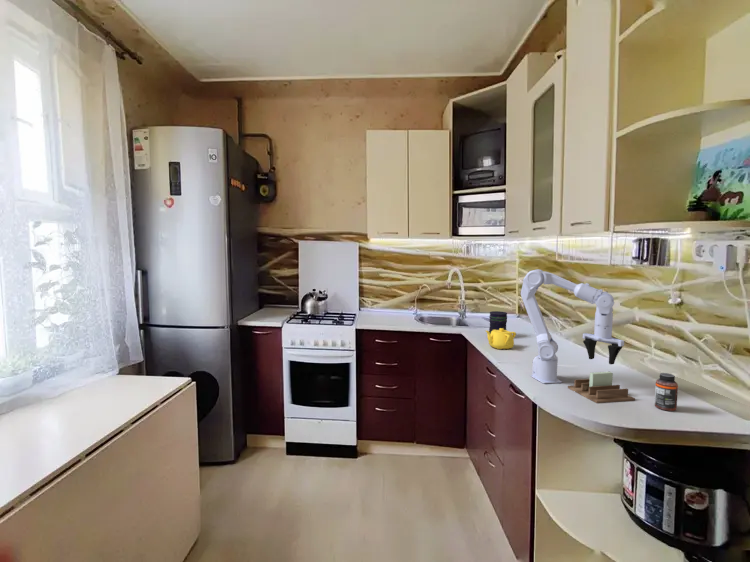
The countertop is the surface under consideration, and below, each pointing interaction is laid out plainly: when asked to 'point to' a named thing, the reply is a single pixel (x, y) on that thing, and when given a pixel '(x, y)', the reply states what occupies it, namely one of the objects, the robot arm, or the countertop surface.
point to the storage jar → (497, 320)
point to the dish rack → (601, 392)
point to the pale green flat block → (600, 379)
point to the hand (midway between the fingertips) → (601, 361)
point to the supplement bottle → (666, 392)
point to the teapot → (501, 338)
